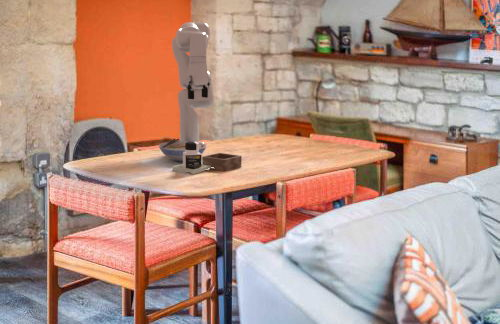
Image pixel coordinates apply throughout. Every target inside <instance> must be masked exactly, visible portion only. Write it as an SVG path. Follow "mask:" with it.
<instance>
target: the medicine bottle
mask: <svg viewBox="0 0 500 324" xmlns="http://www.w3.org/2000/svg"><path fill="white" fill-rule="evenodd" d="M185 151H186V152H183V162H182V164H183V168H188V169H197V168H201V167H202V154H203V153H202V154H201V153H199V152H198V151H199V143H198V142H195V141H189V142H186V143H185Z"/></svg>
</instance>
